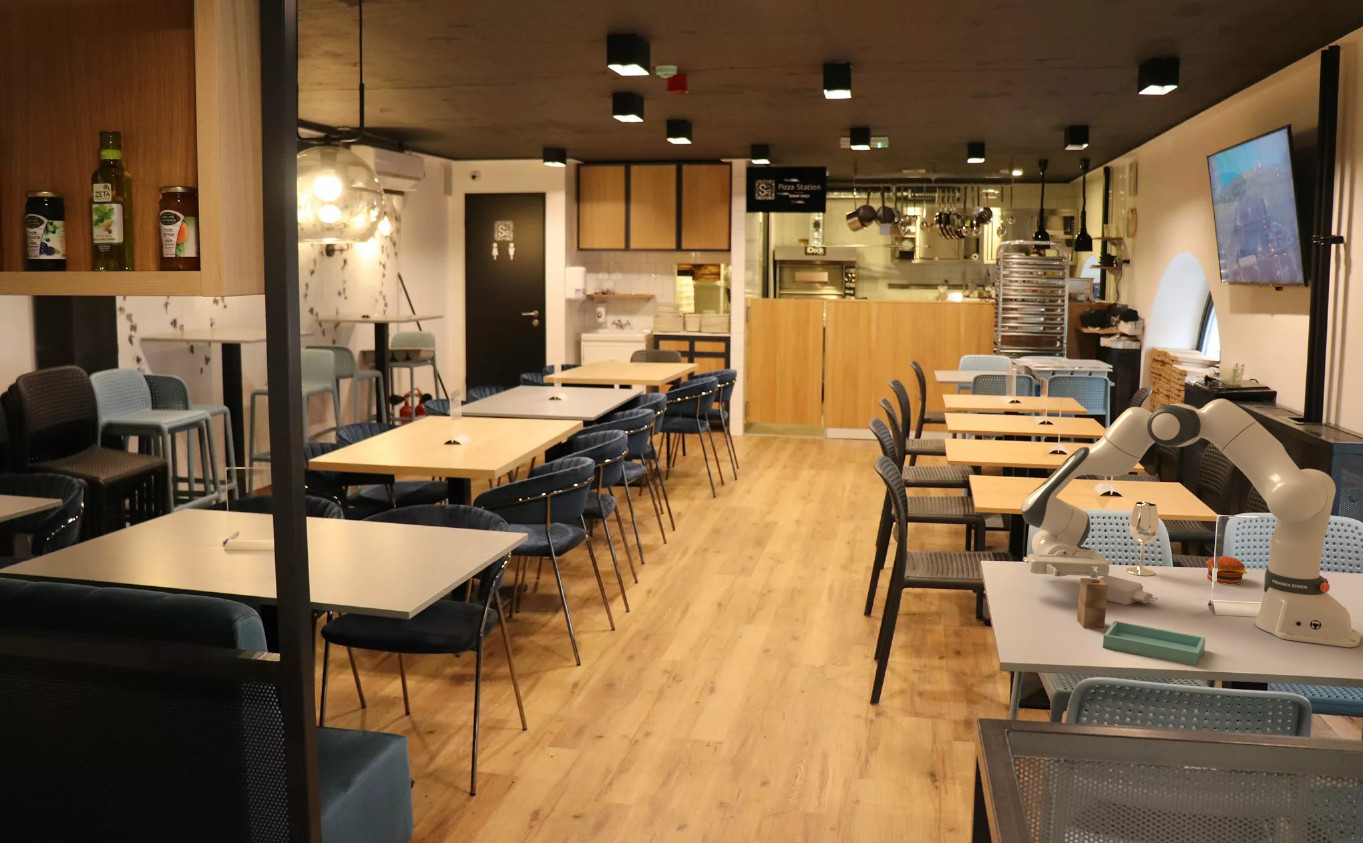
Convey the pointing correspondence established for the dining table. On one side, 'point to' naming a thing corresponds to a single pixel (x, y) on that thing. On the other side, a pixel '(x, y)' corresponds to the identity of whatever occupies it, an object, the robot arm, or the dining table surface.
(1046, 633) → the dining table surface
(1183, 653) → the tray
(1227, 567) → the hamburger
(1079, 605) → the block
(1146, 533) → the wineglass
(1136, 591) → the charger
